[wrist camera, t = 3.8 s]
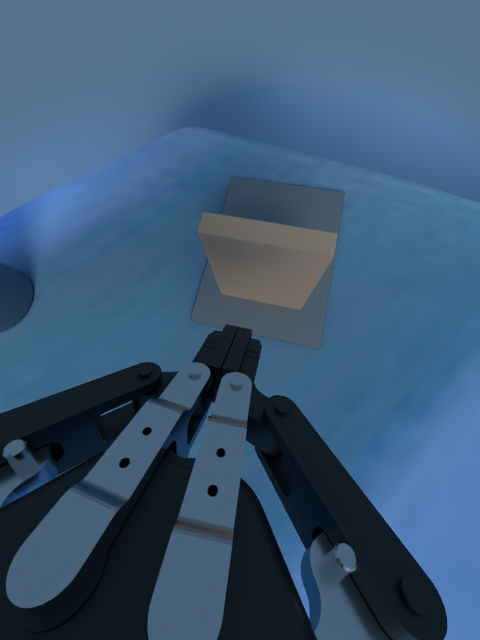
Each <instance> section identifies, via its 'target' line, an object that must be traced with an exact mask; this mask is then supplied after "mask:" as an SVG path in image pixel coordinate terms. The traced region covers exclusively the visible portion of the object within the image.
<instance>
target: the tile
mask: <svg viewBox="0 0 480 640" xmlns="http://www.w3.org/2000/svg"><path fill="white" fill-rule="evenodd" d="M197 233H198V236H199V238H200V241H201V243H202V246H203V248H204V251H205V253H206V256H207V258H208V261H209V263H210V266H211V269H212V271H213V274H214V276H215V279H216V281H217V284H218V286H219V289H220V291H221V294H224V295H229V296H234V297H239V298H244V299H249V300H254V301H258V302H263V303H268V304H273V305H278V306H283V307H288V308H293V309H298V310H301V308H302V307H303V305H304V304H305V302H306V300H307V299H308V297H309V296H310V294H311V292H312V291H313V289H314V288H315V286H316V284H317V283H318V281H319V280H320V278H321V277H322V275H323V273H324V272H325V270H326V269H327V267H328V265H329V264H330V262H331V261H332V259H333V257H334V255H335V249H336V242H337V236H338V233H335V232H329V231H323V230H317V229H311V228H305V227H298V226H292V225H286V224H280V223H274V222H267V221H261V220H255V219H249V218H243V217H236V216H230V215H224V214H218V213H212V212H203V215H202V218H201V221H200V225H199V228H198V231H197Z"/></svg>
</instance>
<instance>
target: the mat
mask: <svg viewBox="0 0 480 640" xmlns="http://www.w3.org/2000/svg"><path fill="white" fill-rule="evenodd" d="M344 195H345V192H338V191H331V190H324V189H317V188H310V187H303V186H296V185H289V184H281V183H274V182H267V181H260V180H253V179H246V178H239V177H232V179H231V183H230V186H229V190H228V193H227V196H226V200H225V203H224V207H223V210H222V213H221V214H224V215H230V216H236V217H243V218H249V219H255V220H261V221H267V222H274V223H280V224H286V225H292V226H298V227H305V228H311V229H317V230H323V231H329V232H335V233H339V226H340V220H341V214H342V207H343V201H344ZM337 239H338V236H337ZM336 245H337V242H336ZM335 252H336V249H335ZM334 258H335V255H334V257H333V259H332V261H331V262H330V264H329V265H328V267H327V269H326V270H325V272H324V273H323V275H322V277H321V278H320V280H319V281H318V283H317V284H316V286H315V288H314V289H313V291H312V292H311V294H310V296H309V297H308V299H307V300H306V302H305V304H304V305H303V307H302V308H301V310H298V309H293V308H288V307H283V306H278V305H273V304H268V303H263V302H258V301H254V300H249V299H244V298H239V297H234V296H229V295H224V294H221V291H220V289H219V286H218V284H217V281H216V279H215V276H214V274H213V271H212V269H211V266H210V263H209V261H207V265H206V268H205V271H204V275H203V278H202V282H201V285H200V288H199V292H198V295H197V299H196V302H195V305H194V309H193V312H192V316H191V319H190V320H191V321H193V322H198V323H202V324H207V325H211V326H216V327H220V328H224V327H225V325H226V324H229V325H234V326H238V327H243V328H248V329H252V335H257V336H261V337H266V338H270V339H275V340H279V341H284V342H289V343H293V344H298V345H302V346H307V347H311V348H316V349H320V346H321V340H322V333H323V327H324V321H325V315H326V308H327V302H328V296H329V289H330V283H331V277H332V270H333V264H334Z"/></svg>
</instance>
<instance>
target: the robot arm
mask: <svg viewBox="0 0 480 640" xmlns="http://www.w3.org/2000/svg"><path fill="white" fill-rule="evenodd" d="M32 298H33V287H32V283H31V281H30V280H29V278H28V277H27V276H26V275H25V274H24V273H22V272H20V271H18V270H16V269H14V268H12V267H10V266H8V265H6V264H3V263H1V262H0V332H2V331H4V330H7V329H9V328H11V327H12V326H14V325H15V324H17V323H18V322H19V321H20V320H21V319H22V318H23V317H24V316H25V314H26V313H27V311H28V309H29V308H30V305H31V303H32ZM251 335H252V329H248V328H243V327H238V326H234V325H229V324H226V325H225V327H224V329H223V331H222V332H220V331H216V330H215V331H214V332H212V333H211V334H209V335H208V337H207V338H206V340H205V342H204V343H203V345H202V347H201V348H200V350H199V352H198V353H197V355H196V357H195V358H194V360H193V362H192V363H189V364H186V365H185V366H183V367H182V368H181V369H180V371H177V372H161V368H160V367H159V365H157V364H155V363H151V362H144V363H140V364H137V365H134V366H132V367H129V368H126V369H123V370H120V371H118V372H115V373H112V374H109V375H107V376H104V377H101V378H98V379H95V380H93V381H90V382H87V383H84V384H82V385H79V386H76V387H73V388H70V389H68V390H65V391H62V392H59V393H57V394H54V395H51V396H48V397H46V398H43V399H40V400H37V401H34V402H32V403H29V404H26V405H23V406H21V407H18V408H15V409H12V410H9V411H7V412H4V413H1V414H0V640H443V639H444V638H445V635H446V633H447V616H446V611H445V608H444V605H443V602H442V599H441V597H440V595H439V593H438V591H437V589H436V588H435V586H434V584H433V583H432V581H431V580H430V579H429V577H428V576H427V575H426V573H425V572H424V571H423V569H422V568H421V567H420V565H419V564H418V563H417V562H416V560H415V559H414V558H413V556H412V555H411V554H410V552H409V551H408V550H407V549H406V547H405V546H404V545H403V543H402V542H401V541H400V539H399V538H398V537H397V536H396V534H395V533H394V532H393V530H392V529H391V528H390V527H389V525H388V524H387V523H386V521H385V520H384V519H383V517H382V516H381V515H380V514H379V512H378V511H377V510H376V508H375V507H374V506H373V504H372V503H371V502H370V501H369V499H368V498H367V497H366V495H365V494H364V493H363V491H362V490H361V489H360V488H359V486H358V485H357V484H356V482H355V481H354V480H353V478H352V477H351V476H350V475H349V473H348V472H347V471H346V469H345V468H344V467H343V465H342V464H341V463H340V462H339V460H338V459H337V458H336V456H335V455H334V454H333V452H332V451H331V450H330V449H329V447H328V446H327V445H326V443H325V442H324V441H323V439H322V438H321V437H320V436H319V434H318V433H317V432H316V430H315V429H314V428H313V426H312V425H311V424H310V423H309V421H308V420H307V419H306V417H305V416H304V415H303V413H302V412H301V411H300V410H299V408H298V407H297V406H296V404H295V403H294V402H293V401H292V400H290V399H289V398H287V397H284V396H280V395H276V396H272V397H270V398H268V397H267V396H265V395H263V394H262V393H260V392H259V391H258V390H257V388H256V387H255V384H254V380H255V376H256V371H257V367H258V362H259V358H260V353H261V348H262V346H261V343H260V341H259V340H256V339H252V338H251ZM129 401H132V403H130V404H127V405H125V406H123V407H121V408H118V409H116V410H114V411H112V412H109V413H107V414H105V415H102V416H100V415H101V414H103V413H105V412H107V411H109V410H111V409H114V408H116V407H118V406H120V405H123V404H125V403H127V402H129ZM211 402H214V407H213V410H212V414H211V416H209V417H208V420H207V423H206V426H205V430H204V433H203V436H202V440H201V443H200V446H199V450H198V453H197V456H196V458H188V454H189V451H190V449H191V447H192V445H193V443H194V441H195V439H196V437H197V435H198V433H199V431H200V429H201V427H202V425H203V423H204V421H205V419H206V417H207V414H208V409H209V407H210V405H211ZM245 440H246V441H248V442H249V443H251V444H252V445H254V446H255V451H256V453H257V455H258V457H259V459H260V461H261V463H262V465H263V467H264V469H265V471H266V473H267V475H268V477H269V479H270V480H271V482H272V484H273V486H274V488H275V490H276V492H277V494H278V496H279V498H280V500H281V502H282V504H283V506H284V508H285V510H286V512H287V514H288V515H289V517H290V519H291V521H292V523H293V525H294V527H295V529H296V531H297V533H298V535H299V537H300V539H301V541H302V543H303V545H304V547H305V549H306V551H305V553H304V555H303V557H302V561H301V577H302V581H303V584H304V587H305V590H306V593H307V596H308V601H309V607H310V618H308V616H307V613H306V611H305V608H304V606H303V604H302V601H301V599H300V596H299V594H298V592H297V589H296V587H295V584H294V582H293V580H292V577H291V575H290V572H289V570H288V568H287V565H286V563H285V560H284V558H283V556H282V553H281V551H280V548H279V546H278V544H277V541H276V539H275V536H274V534H273V532H272V529H271V527H270V524H269V522H268V520H267V517H266V515H265V512H264V510H263V508H262V505H261V503H260V501H259V499H258V498H257V496H256V494H255V493H254V491H253V490H252V489H251V487H250V486H249V485H248V484H247V483H246V482H245V481H244V480H243V479H241V470H242V463H243V455H244V447H245ZM107 449H108V450H107ZM93 456H94V457H93ZM84 461H85V462H84ZM82 462H83V463H82ZM80 463H81V464H80ZM78 464H79V465H78ZM76 465H77V466H76ZM74 466H76V467H74ZM73 467H74V468H73ZM71 468H72V469H71ZM69 469H70V470H69ZM67 470H68V471H67ZM65 471H67V472H65ZM63 472H65V473H63ZM61 473H63V474H61ZM59 474H61V475H60V476H58V477H56V476H57V475H59Z"/></svg>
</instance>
